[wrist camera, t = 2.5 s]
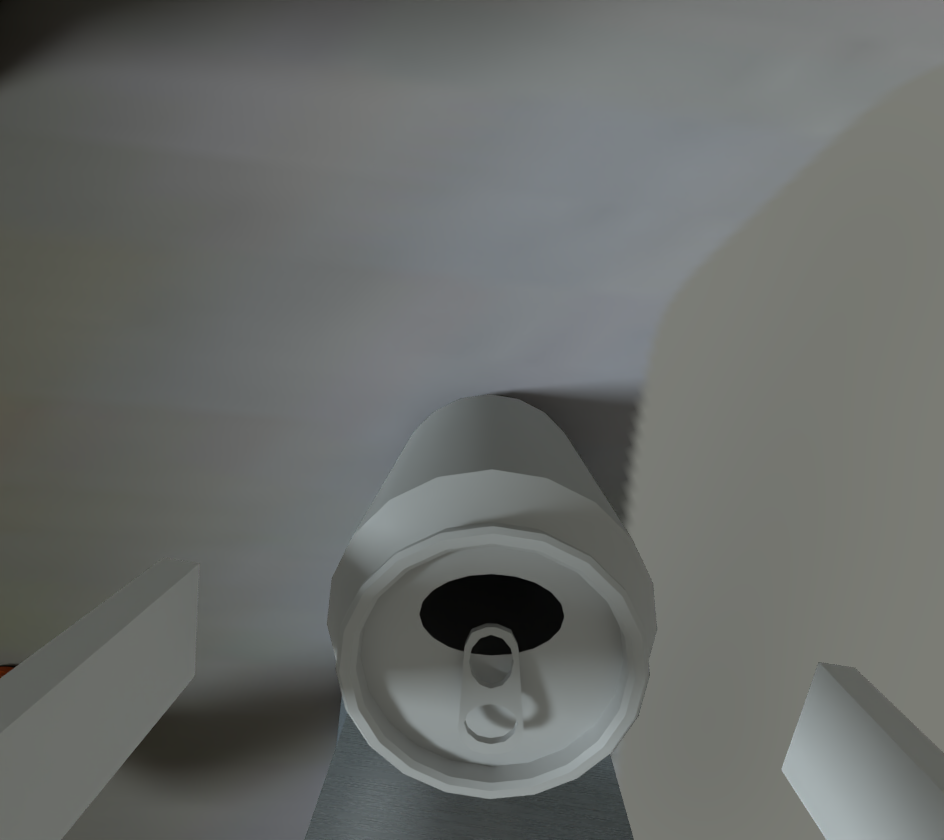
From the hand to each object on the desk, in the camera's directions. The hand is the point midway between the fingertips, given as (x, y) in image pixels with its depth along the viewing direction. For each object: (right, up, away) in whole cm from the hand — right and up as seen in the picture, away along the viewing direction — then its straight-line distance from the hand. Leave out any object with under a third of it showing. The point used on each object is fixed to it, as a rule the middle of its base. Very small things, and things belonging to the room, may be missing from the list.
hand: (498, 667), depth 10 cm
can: (0, +3, +11) cm, 11 cm away
